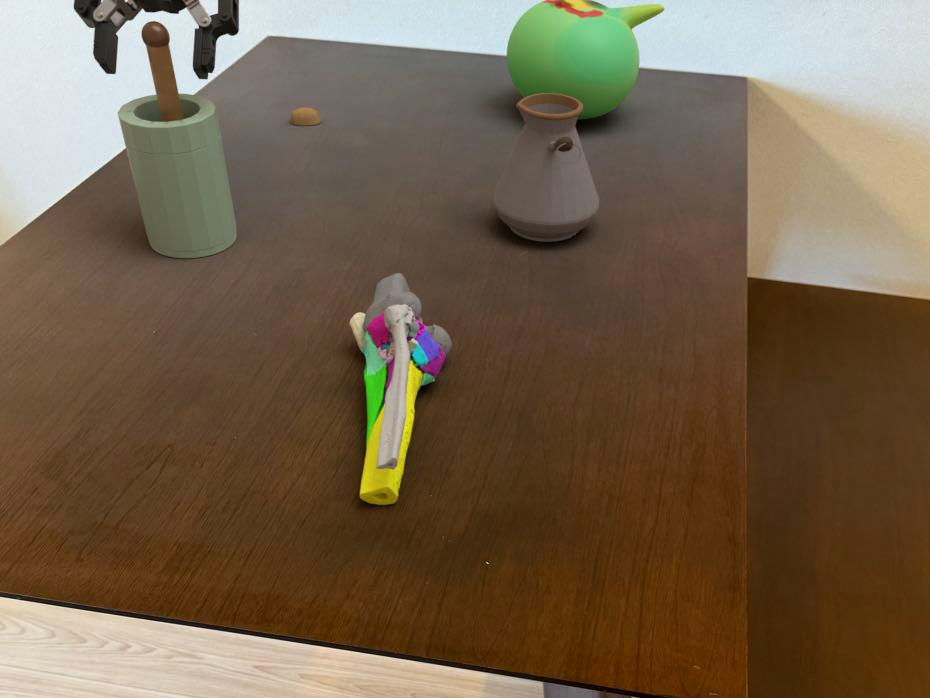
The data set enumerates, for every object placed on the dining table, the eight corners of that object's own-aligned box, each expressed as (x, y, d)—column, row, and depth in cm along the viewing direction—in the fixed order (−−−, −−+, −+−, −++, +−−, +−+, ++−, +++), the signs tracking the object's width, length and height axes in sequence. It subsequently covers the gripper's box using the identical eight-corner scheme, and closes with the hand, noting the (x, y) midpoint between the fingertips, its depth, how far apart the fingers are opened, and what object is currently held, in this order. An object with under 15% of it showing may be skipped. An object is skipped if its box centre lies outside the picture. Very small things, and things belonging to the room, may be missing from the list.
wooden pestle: (174, 239, 98) (127, 27, 85) (180, 223, 101) (136, 15, 87) (210, 239, 99) (169, 28, 85) (216, 223, 101) (177, 16, 88)
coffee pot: (489, 202, 109) (491, 61, 99) (590, 203, 110) (602, 63, 100) (499, 298, 94) (503, 142, 83) (616, 297, 94) (635, 143, 84)
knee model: (364, 547, 75) (378, 337, 90) (459, 518, 72) (457, 309, 88) (300, 474, 68) (327, 262, 84) (403, 440, 66) (411, 229, 81)
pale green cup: (140, 258, 97) (107, 126, 88) (159, 219, 103) (130, 92, 94) (229, 259, 97) (205, 128, 88) (243, 220, 104) (222, 94, 95)
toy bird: (481, 105, 131) (482, -16, 121) (572, 82, 139) (580, -34, 129) (570, 148, 121) (580, 20, 111) (663, 120, 130) (679, -2, 119)
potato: (321, 125, 124) (320, 111, 123) (290, 126, 123) (288, 112, 122) (321, 117, 126) (320, 103, 125) (290, 118, 125) (288, 104, 124)
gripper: (68, -136, 85) (56, 46, 84) (230, -127, 84) (218, 54, 84) (105, -78, 92) (93, 89, 92) (253, -71, 92) (243, 97, 91)
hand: (153, 72), depth 88 cm, fingers open, 8 cm apart
